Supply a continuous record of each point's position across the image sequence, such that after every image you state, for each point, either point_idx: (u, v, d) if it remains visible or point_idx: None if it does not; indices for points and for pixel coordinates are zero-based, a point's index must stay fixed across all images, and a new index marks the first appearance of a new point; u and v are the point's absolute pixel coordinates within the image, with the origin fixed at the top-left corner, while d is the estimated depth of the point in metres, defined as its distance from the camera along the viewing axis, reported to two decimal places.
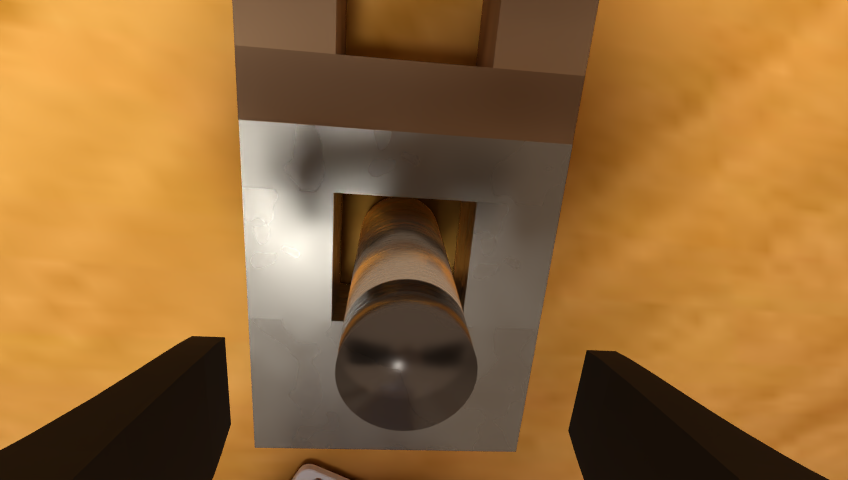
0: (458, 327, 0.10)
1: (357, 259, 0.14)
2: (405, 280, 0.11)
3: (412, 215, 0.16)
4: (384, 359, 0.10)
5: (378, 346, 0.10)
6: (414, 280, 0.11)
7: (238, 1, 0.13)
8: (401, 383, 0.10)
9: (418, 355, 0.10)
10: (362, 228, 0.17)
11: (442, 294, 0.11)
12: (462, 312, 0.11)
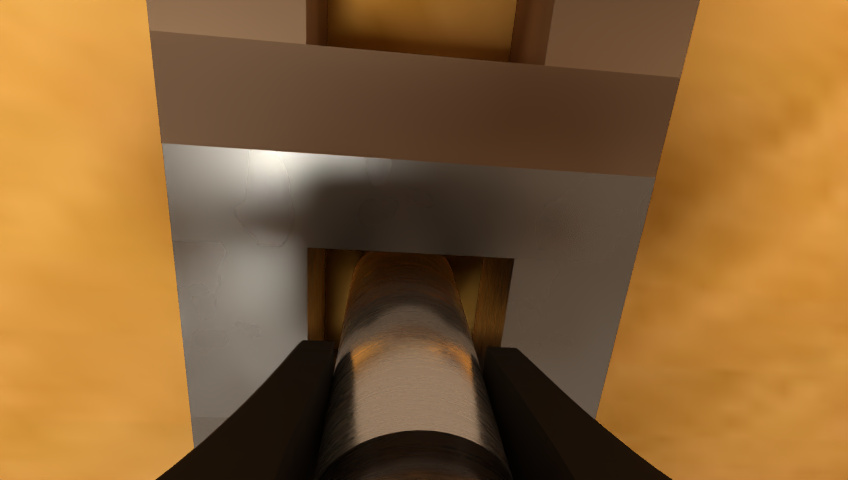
0: None
1: (341, 350, 0.09)
2: (415, 435, 0.06)
3: (421, 274, 0.11)
4: None
5: None
6: (431, 432, 0.06)
7: None
8: None
9: None
10: (351, 285, 0.12)
11: (479, 462, 0.06)
12: (511, 478, 0.07)
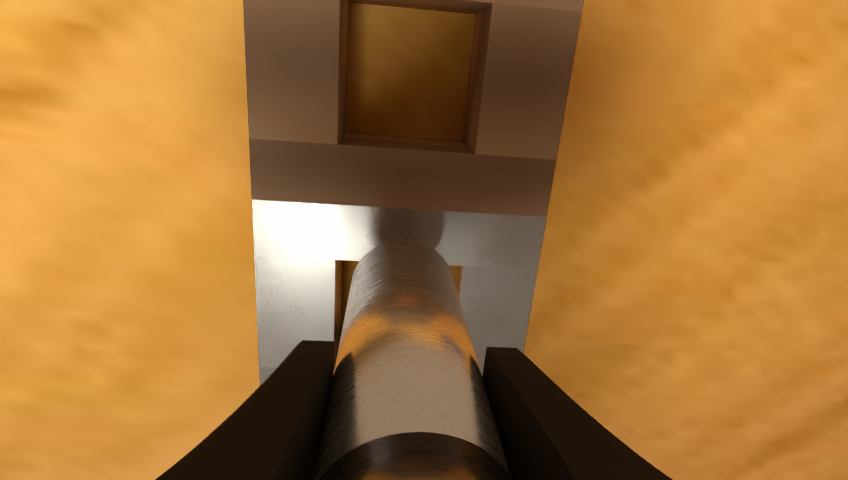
0: None
1: (340, 351, 0.09)
2: (415, 436, 0.06)
3: (421, 276, 0.11)
4: None
5: None
6: (430, 434, 0.06)
7: (252, 102, 0.15)
8: None
9: None
10: (351, 287, 0.12)
11: (479, 463, 0.06)
12: None
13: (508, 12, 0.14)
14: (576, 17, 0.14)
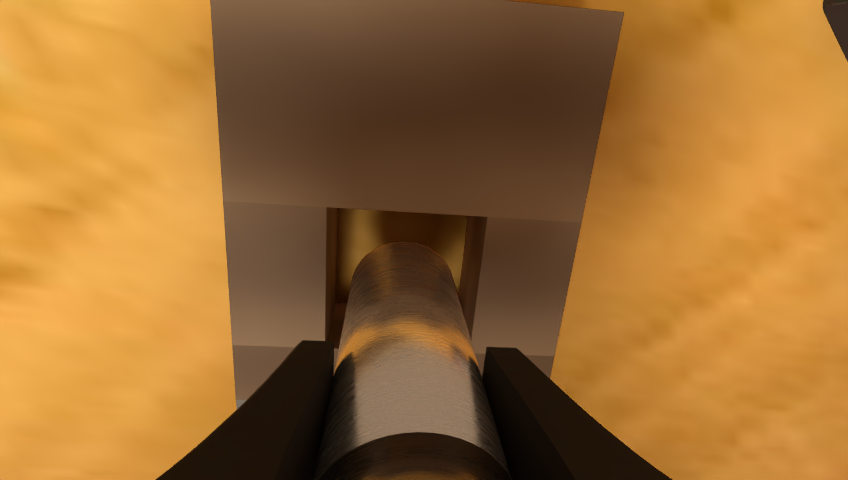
0: None
1: (340, 352, 0.09)
2: (415, 437, 0.06)
3: (421, 277, 0.11)
4: None
5: None
6: (430, 435, 0.06)
7: (235, 312, 0.14)
8: None
9: None
10: (351, 289, 0.12)
11: (478, 463, 0.06)
12: None
13: (504, 224, 0.14)
14: (575, 227, 0.14)
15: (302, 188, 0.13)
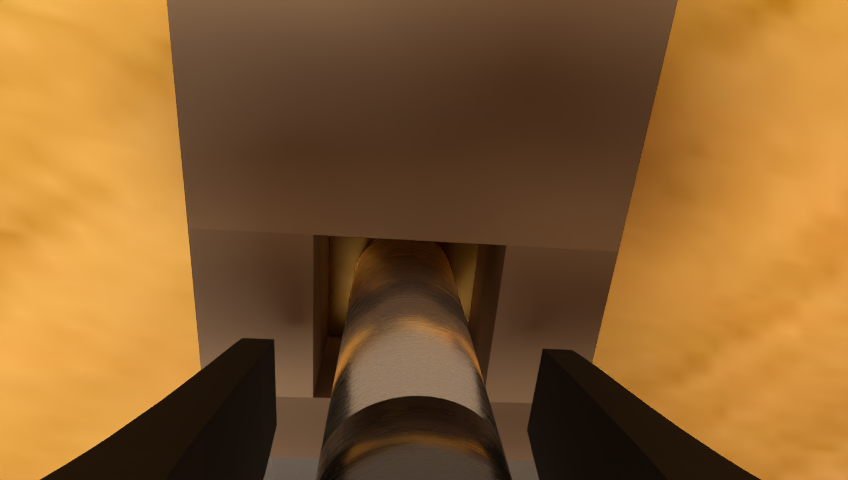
0: None
1: (345, 332, 0.10)
2: (413, 400, 0.07)
3: (420, 264, 0.12)
4: None
5: None
6: (427, 397, 0.07)
7: (206, 357, 0.12)
8: None
9: None
10: (354, 276, 0.13)
11: (470, 422, 0.07)
12: (499, 440, 0.07)
13: (526, 254, 0.11)
14: (611, 257, 0.11)
15: (283, 213, 0.11)
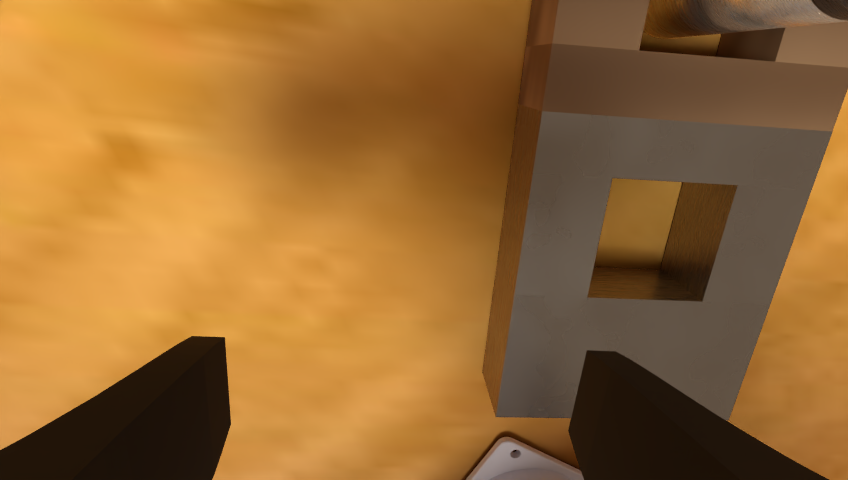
0: None
1: None
2: None
3: None
4: None
5: None
6: None
7: (562, 3, 0.14)
8: None
9: None
10: None
11: None
12: None
13: None
14: None
15: None
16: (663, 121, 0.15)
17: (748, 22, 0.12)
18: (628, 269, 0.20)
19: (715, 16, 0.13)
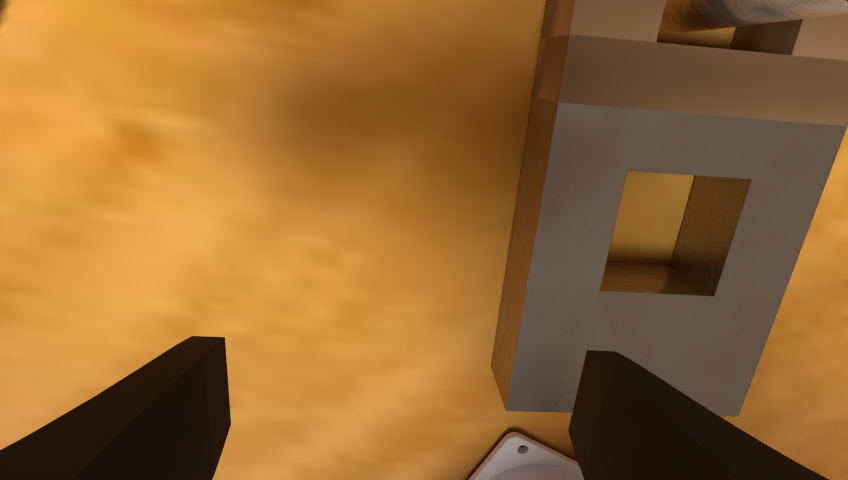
0: None
1: None
2: None
3: None
4: None
5: None
6: None
7: None
8: None
9: None
10: None
11: None
12: None
13: None
14: None
15: None
16: (679, 114, 0.15)
17: (768, 14, 0.12)
18: (639, 264, 0.20)
19: (734, 8, 0.13)
